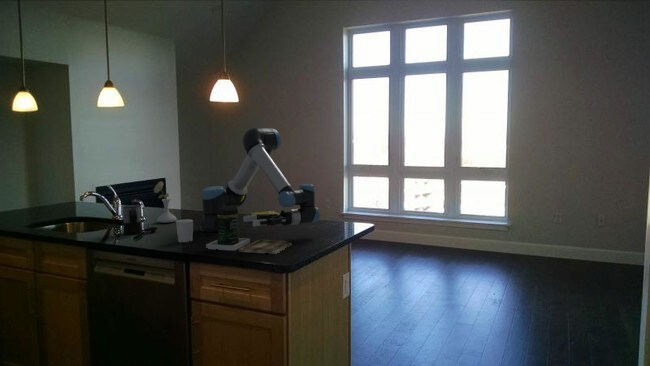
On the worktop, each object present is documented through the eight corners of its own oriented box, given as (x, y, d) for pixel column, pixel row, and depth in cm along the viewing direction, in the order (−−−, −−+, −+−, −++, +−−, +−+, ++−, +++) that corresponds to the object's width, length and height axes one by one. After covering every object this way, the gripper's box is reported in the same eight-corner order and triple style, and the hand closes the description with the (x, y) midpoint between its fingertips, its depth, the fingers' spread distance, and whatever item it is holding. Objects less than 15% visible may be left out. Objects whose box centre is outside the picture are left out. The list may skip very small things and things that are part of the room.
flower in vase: (169, 220, 293) (167, 179, 291) (181, 221, 286) (179, 180, 284) (150, 223, 282) (148, 181, 280) (162, 225, 276) (160, 182, 273)
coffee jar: (227, 249, 215) (226, 208, 213) (214, 246, 220) (213, 207, 218) (242, 244, 223) (241, 205, 222) (230, 242, 228) (228, 204, 226)
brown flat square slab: (238, 251, 210) (238, 247, 210) (256, 242, 227) (256, 238, 227) (276, 254, 205) (276, 249, 204) (291, 245, 222) (291, 240, 221)
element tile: (251, 219, 294) (250, 212, 293) (274, 217, 300) (274, 210, 299) (257, 223, 280) (257, 215, 279) (281, 221, 286) (281, 213, 285)
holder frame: (206, 248, 216) (206, 244, 216) (223, 241, 231) (223, 237, 231) (233, 250, 212) (233, 246, 212) (250, 242, 227) (249, 238, 227)
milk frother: (120, 233, 253) (118, 205, 252) (148, 229, 265) (147, 202, 263) (132, 237, 244) (131, 208, 242) (161, 232, 255) (159, 205, 254)
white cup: (184, 243, 228) (183, 222, 227) (173, 241, 232) (172, 221, 231) (197, 240, 234) (196, 220, 233) (186, 238, 239) (185, 218, 238)
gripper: (300, 228, 224) (257, 233, 214) (280, 220, 246) (240, 224, 236) (299, 213, 223) (256, 217, 214) (279, 206, 245) (240, 209, 236)
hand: (248, 221), depth 225 cm, fingers open, 13 cm apart
